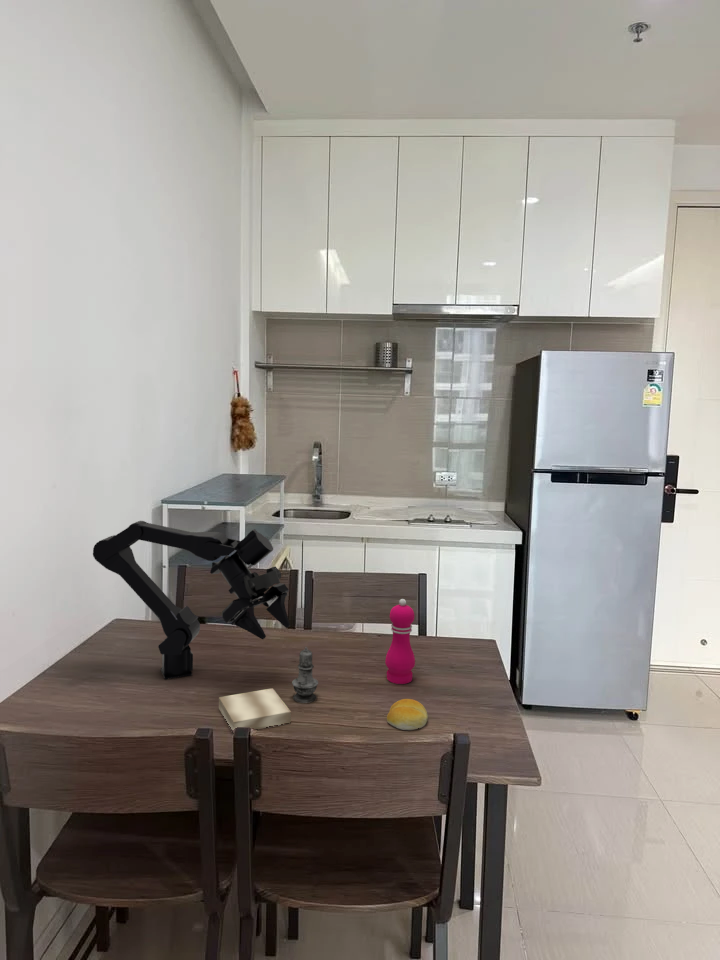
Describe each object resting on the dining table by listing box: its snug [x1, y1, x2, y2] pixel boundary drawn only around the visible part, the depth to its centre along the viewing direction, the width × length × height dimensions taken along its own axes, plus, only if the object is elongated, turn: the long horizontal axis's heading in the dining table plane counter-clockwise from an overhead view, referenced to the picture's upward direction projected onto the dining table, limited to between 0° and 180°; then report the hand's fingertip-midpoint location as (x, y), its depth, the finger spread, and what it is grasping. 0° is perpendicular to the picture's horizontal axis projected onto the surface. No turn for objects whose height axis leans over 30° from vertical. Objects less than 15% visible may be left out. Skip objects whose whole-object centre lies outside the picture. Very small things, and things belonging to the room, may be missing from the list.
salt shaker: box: [291, 646, 319, 704], centre depth 144 cm, size 6×6×12 cm
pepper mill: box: [385, 598, 416, 685], centre depth 156 cm, size 7×7×20 cm
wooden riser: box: [218, 688, 292, 730], centre depth 136 cm, size 12×12×2 cm
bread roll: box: [386, 698, 428, 731], centre depth 135 cm, size 8×9×4 cm
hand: (276, 632), depth 147 cm, fingers open, 9 cm apart
